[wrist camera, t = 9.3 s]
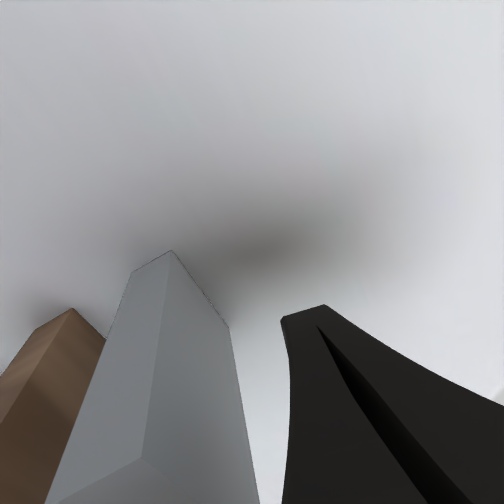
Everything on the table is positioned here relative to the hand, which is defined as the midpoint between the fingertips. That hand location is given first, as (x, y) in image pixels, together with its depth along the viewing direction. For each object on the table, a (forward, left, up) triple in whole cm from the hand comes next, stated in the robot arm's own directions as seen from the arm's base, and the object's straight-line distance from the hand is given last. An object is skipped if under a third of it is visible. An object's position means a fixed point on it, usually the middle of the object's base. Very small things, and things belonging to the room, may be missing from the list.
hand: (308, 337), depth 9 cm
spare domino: (0, -4, -6) cm, 7 cm away
